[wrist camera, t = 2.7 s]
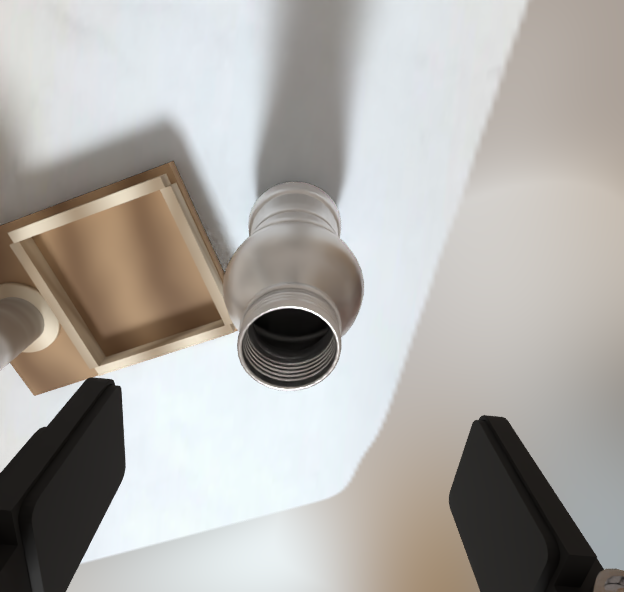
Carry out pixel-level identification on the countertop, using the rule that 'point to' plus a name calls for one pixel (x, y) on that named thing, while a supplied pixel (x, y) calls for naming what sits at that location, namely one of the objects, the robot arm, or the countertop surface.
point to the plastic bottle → (292, 288)
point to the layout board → (108, 282)
